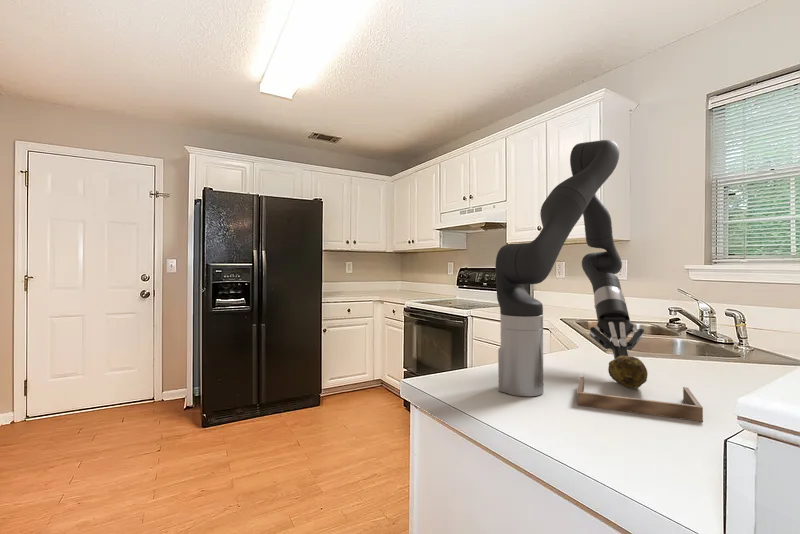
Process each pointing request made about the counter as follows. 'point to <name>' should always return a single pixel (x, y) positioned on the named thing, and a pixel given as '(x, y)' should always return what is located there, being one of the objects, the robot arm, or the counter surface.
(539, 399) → the counter surface
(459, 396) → the counter surface
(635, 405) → the tray
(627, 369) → the potato
